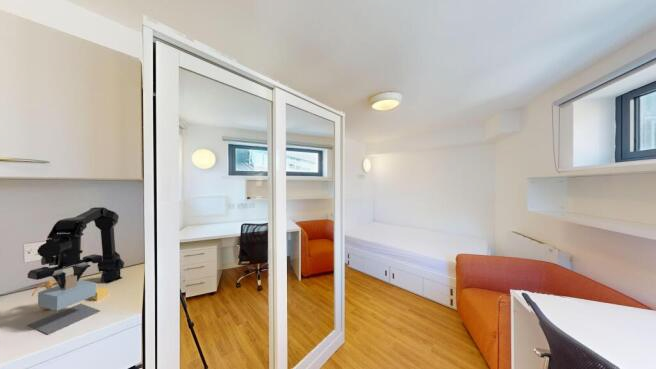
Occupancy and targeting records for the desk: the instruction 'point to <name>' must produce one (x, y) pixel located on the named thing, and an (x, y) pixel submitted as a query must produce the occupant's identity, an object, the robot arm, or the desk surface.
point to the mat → (63, 318)
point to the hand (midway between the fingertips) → (68, 285)
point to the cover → (66, 293)
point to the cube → (100, 293)
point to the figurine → (48, 286)
